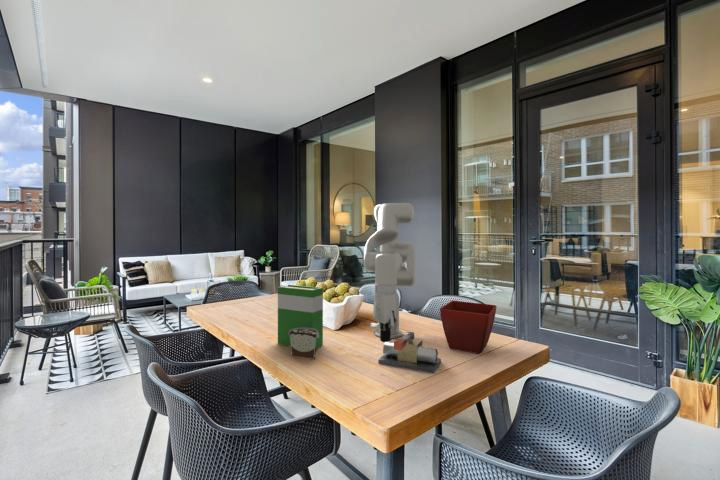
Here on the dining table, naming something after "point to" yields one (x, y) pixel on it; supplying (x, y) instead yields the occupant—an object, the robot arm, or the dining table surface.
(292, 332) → the food container
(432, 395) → the dining table surface
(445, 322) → the plant pot
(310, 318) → the green cereal box
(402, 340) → the valve lever
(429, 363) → the valve body
